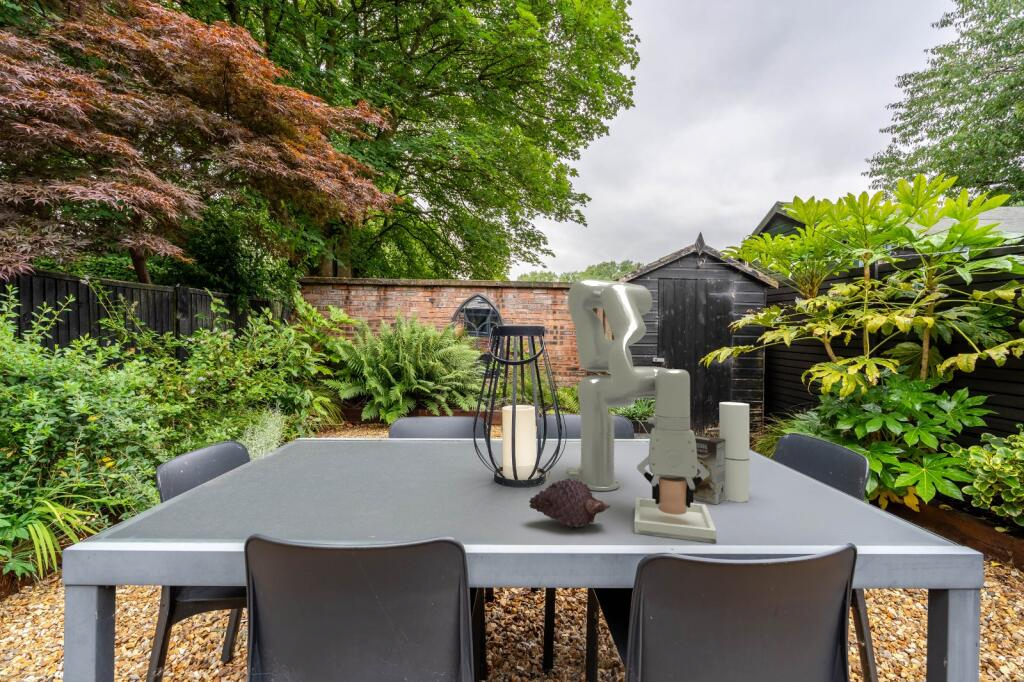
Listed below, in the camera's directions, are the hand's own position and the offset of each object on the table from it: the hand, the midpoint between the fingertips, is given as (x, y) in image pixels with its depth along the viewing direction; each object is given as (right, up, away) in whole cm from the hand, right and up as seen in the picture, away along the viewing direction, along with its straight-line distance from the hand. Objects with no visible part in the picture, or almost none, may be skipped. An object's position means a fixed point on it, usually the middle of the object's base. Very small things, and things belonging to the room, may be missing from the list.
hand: (672, 503), depth 99 cm
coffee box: (+15, -5, +18) cm, 23 cm away
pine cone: (-23, -5, -1) cm, 24 cm away
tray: (0, -5, 0) cm, 5 cm away
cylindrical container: (+23, -5, +18) cm, 30 cm away
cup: (0, -1, 0) cm, 1 cm away
